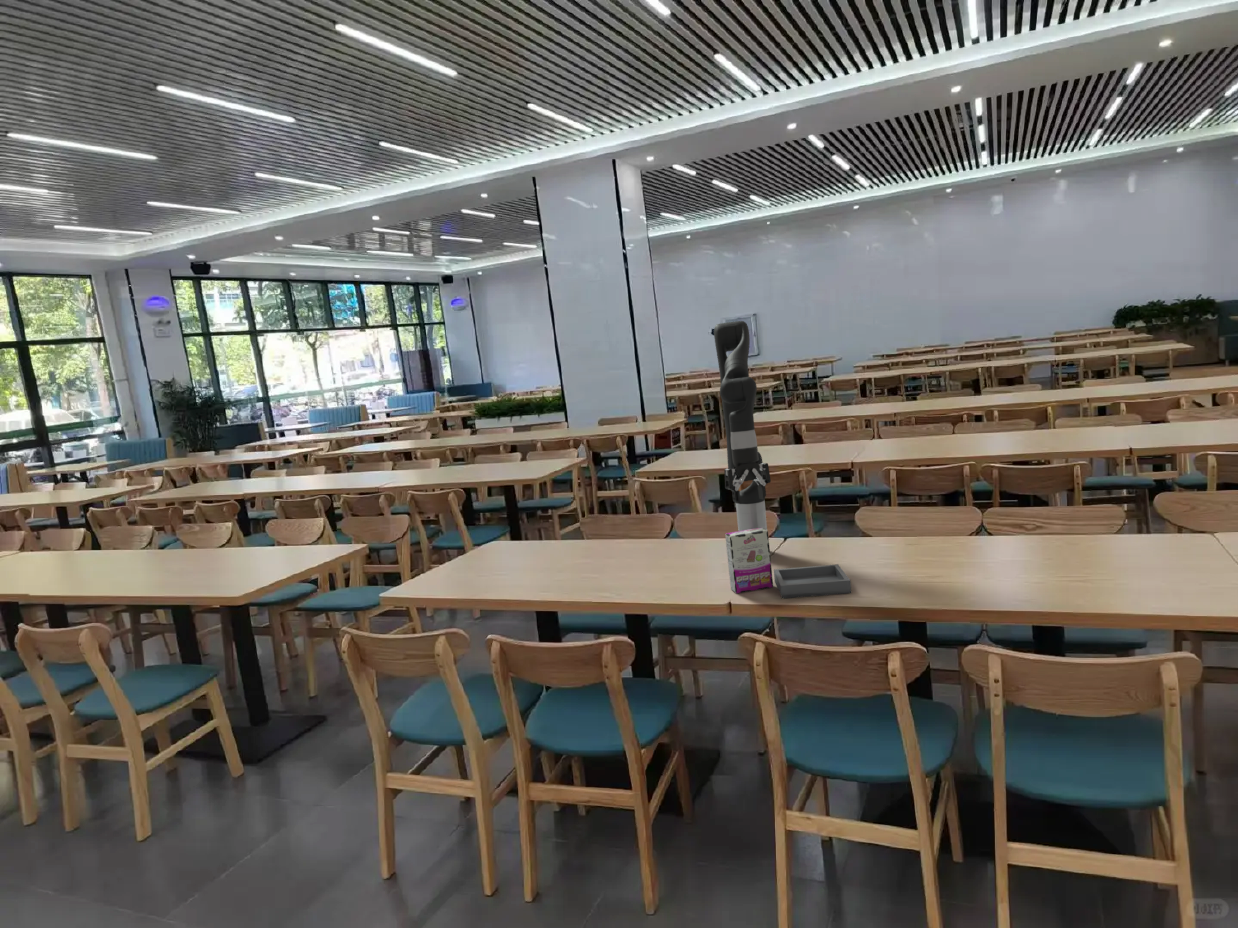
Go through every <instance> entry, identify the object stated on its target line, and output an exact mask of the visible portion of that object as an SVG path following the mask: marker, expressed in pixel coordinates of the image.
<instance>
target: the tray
mask: <svg viewBox="0 0 1238 928" xmlns="http://www.w3.org/2000/svg"><path fill="white" fill-rule="evenodd" d="M773 580H774V583H775V586H776V588H777V590H778V593H779V595H780V597H781V599H782V598H784V599H794V598H795V599H796V598H806V597H807V598H809V597H819V596H822V597H823V596H830V595H831V596H833V595H845V594H848V595H849V594H852V584H851V579H850V578H849V576H848V575H847V574H846V572H845V571H844V570H843V568H841V566H840V564H839V563H836V564H824V565H814V566H813V565H812V566H801V567H789V568H787V567H786V568H777V569H775V568H773Z"/></svg>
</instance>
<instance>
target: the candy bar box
mask: <svg viewBox="0 0 1238 928" xmlns="http://www.w3.org/2000/svg"><path fill="white" fill-rule="evenodd" d="M724 535H725V536H724V537H725V545H726V555H727V564H728V574H729V584H730V590H731V591H732V592H734V593H735V594H743V593H748V592H753V591H754V592H755V591H759V590H765V589H771V588H772V589H773V587H774V581H773V580H774V578H773V571H772V560H771V550H770V541H769V530H768V529H767V530H766V529H764V528H756V529H749V530H743V531H731V532H726V533H724Z"/></svg>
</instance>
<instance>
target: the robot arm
mask: <svg viewBox="0 0 1238 928" xmlns="http://www.w3.org/2000/svg"><path fill="white" fill-rule="evenodd" d="M713 336H714V337H713V338H714V344H715V350H716V356H717V364H718V368H719V377H720V379H719V380H720V388H719V396H720V398H721V405H722V412H723V421H724V426H725V427H724V428H725V435H726V454H727V455H726V456H727V457H726V458H727V468H724V473H723V474H724V488H725V489H726V490H730V491H731V493H732V494H731V495H732V501H733V502H734V504H735V508H736V521H737V528H738V529H737V530H738V531H743V530H749V529H756V528H764V529H766V530H768V525H767V511H766V503H765V499H766V497H767V493H766V492H767V491H766V485H768V484H770V483H771V475H770V474H771V472H770V466H769V464H768V463H767V462H763V457H762V455H761V452H759V450H758V440H757V434H756V431H755V430H756V429H755V420H754V419H755V418H754V407H755V401H756V396H757V389H758V387H757V382H756V381H755V379H753V378H752V377H750V376H749V375H750V372H749V365H748V362H749V361H748V360H749V353H750V343H751V337H750V330H749V326H748V324H747V322H746V321H744V320H736V321H728V322H720V323H716V325H715V326H714V330H713ZM727 352H731V353H729V355H727ZM748 481H752V482H751V483H750V485H748V486H747V487H746V488H744V489H741V490H739V489H740V487H741V485H743V483H744V482H748Z"/></svg>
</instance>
